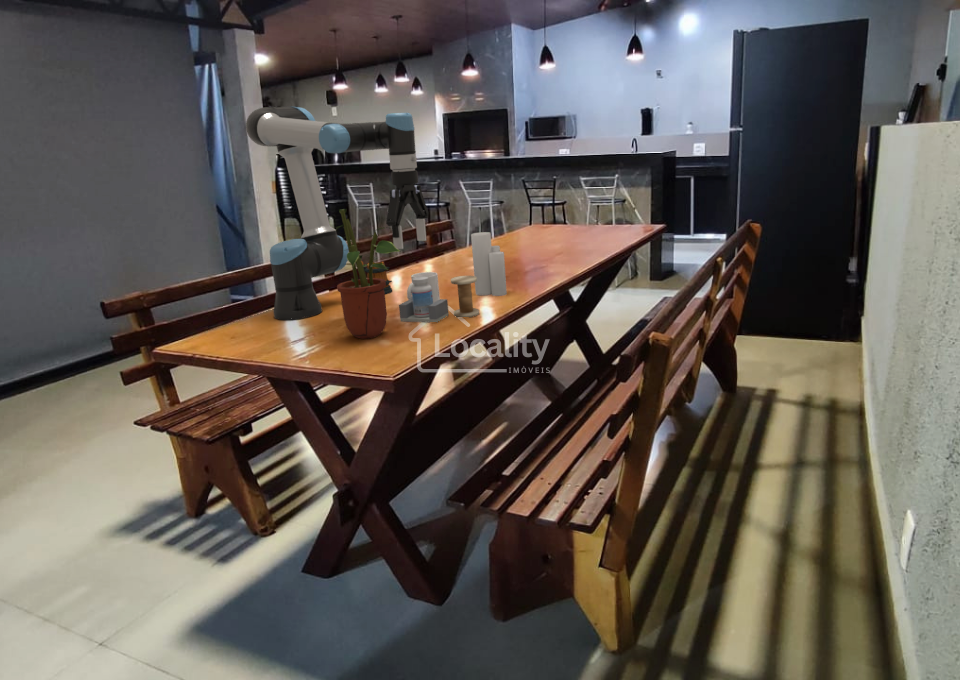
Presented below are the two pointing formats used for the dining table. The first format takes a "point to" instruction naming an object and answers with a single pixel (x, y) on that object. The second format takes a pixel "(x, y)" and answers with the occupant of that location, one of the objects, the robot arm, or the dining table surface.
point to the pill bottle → (421, 296)
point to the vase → (488, 266)
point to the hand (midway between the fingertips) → (410, 244)
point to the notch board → (435, 311)
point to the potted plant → (364, 289)
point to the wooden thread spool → (465, 296)
